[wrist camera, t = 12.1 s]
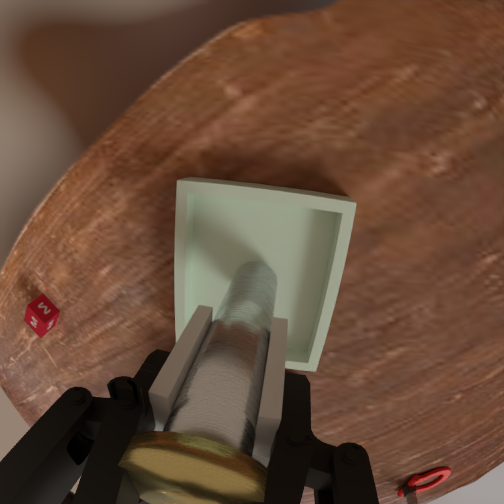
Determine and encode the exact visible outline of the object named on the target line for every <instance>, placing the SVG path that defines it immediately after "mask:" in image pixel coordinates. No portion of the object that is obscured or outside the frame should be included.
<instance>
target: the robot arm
mask: <svg viewBox="0 0 504 504" xmlns="http://www.w3.org/2000/svg"><path fill="white" fill-rule="evenodd" d="M212 314H213V307H209V306H204V305H198V307H197V309H196V310H195V312H194V314H193V315H192V317H191V319H190V320H189V322H188V324H187V326H186V327H185V329H184V331H183V332H182V334H181V336H180V338H179V339H178V341H177V343H176V344H175V346H174V348H173V350H172V351H171V352H167V351H163V350H159V349H157V350H155V351H154V352H152V353H151V354H149V355H148V357H147V358H146V360H145V361H144V364H142V366H141V367H140V369H139V371H138V372H137V374H136V375H135V377H134V378H131V377H126V376H121V377H116V378H114V379H112V380H111V381H110V382H109V383H108V384H107V386H108V390H109V393H110V396H111V398H101V397H92V394H91V392H90V391H89V390H87V389H86V388H83V387H73V388H70V389H68V390H67V391H66V392H65V393H64V394H63V395H62V396H61V397H60V398H59V399H58V400H57V401H56V402H55V403H54V404H53V405H52V406H51V407H50V408H49V409H48V410H47V411H46V412H45V413H44V415H43V416H42V417H41V418H40V419H39V420H38V421H37V422H36V423H35V424H34V425H33V426H32V427H31V428H30V430H29V431H28V432H27V433H26V434H25V435H24V436H23V437H22V438H21V440H19V442H18V443H17V444H16V445H15V446H14V447H13V448H12V449H11V450H10V452H9V453H8V454H7V455H6V456H5V457H4V458H3V459H2V461H1V462H0V504H149V503H148V502H146V501H144V500H142V499H141V498H140V495H139V493H138V492H137V490H136V488H135V486H134V485H133V483H132V481H131V479H130V477H129V475H128V473H127V471H126V469H125V468H123V467H120V466H118V464H119V462H120V460H121V458H122V456H123V455H124V453H125V451H126V449H127V447H128V445H129V443H130V441H131V439H132V437H134V436H135V435H137V434H139V433H142V432H147V431H153V430H154V428H156V431H163V429H164V426H165V424H166V422H167V420H168V418H169V415H170V413H171V411H172V409H173V407H174V404H175V402H176V400H177V398H178V396H179V393H180V391H181V389H182V387H183V385H184V383H185V380H186V378H187V376H188V374H189V372H190V369H191V367H192V365H193V363H194V361H195V359H196V356H197V354H198V352H199V350H200V348H201V345H202V343H203V341H204V339H205V337H206V335H207V332H208V330H209V328H210V326H211V324H212ZM287 328H288V319H285V318H278V317H273V321H272V327H271V333H270V340H269V347H268V354H267V361H266V368H265V374H264V381H263V387H262V394H261V400H260V406H259V413H258V419H257V425H256V431H255V433H256V437H255V444H254V449H253V455H256V456H264V457H270V460H269V463H268V466H267V469H268V473H267V481H266V488H265V496H264V502H256V501H255V502H254V504H300V502H301V498H302V494H303V490H304V486H307V487H310V488H313V489H314V498H315V504H379V501H378V496H377V491H376V487H375V482H374V478H373V474H372V469H371V465H370V461H369V457H368V454H367V452H366V450H365V449H364V448H363V447H362V446H361V445H358V444H356V443H349V442H348V443H343V444H341V445H339V446H338V447H336V446H333V445H330V444H327V443H324V442H322V441H320V440H319V439H317V438H316V437H315V436H314V434H313V432H312V430H311V401H310V400H311V399H310V382H309V381H308V379H307V377H306V376H305V375H299V374H291V373H285V361H286V345H287ZM81 475H82V476H81ZM80 476H81V478H80ZM79 478H80V481H79V484H78V487H77V490H76V493H75V494H74V493H73V492H71V491H70V490H71V489H72V487H73V486H74V484H75V483H76V482H77V480H78V479H79Z"/></svg>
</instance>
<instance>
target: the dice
mask: <svg viewBox="0 0 504 504" xmlns="http://www.w3.org/2000/svg"><path fill="white" fill-rule="evenodd" d="M59 313H60V311H59V310H58V309H57V308H56V307H55V306H54V305H53V304H52V303H51V302H50V300H49V299H48V298H47V297H46V296H45V295H44V294H42V295H41V296H39V297H38V298H36V299H35V300H34V301H32V302H31V303H30V304H28V305H27V309H26V313H25V318H24V321H25V322H26V323H27V324H28V325H29V326H30V327H31V328H32V329H33V331H34V332H35V333H36V334H37V335H38V336H39V337H40V338H41V337H43V336H44V335H45V334H46V333H47V332H48V331H49V330H50V329H52V328H53V327H54V326H55V324H56V321H57V318H58V315H59Z"/></svg>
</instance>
